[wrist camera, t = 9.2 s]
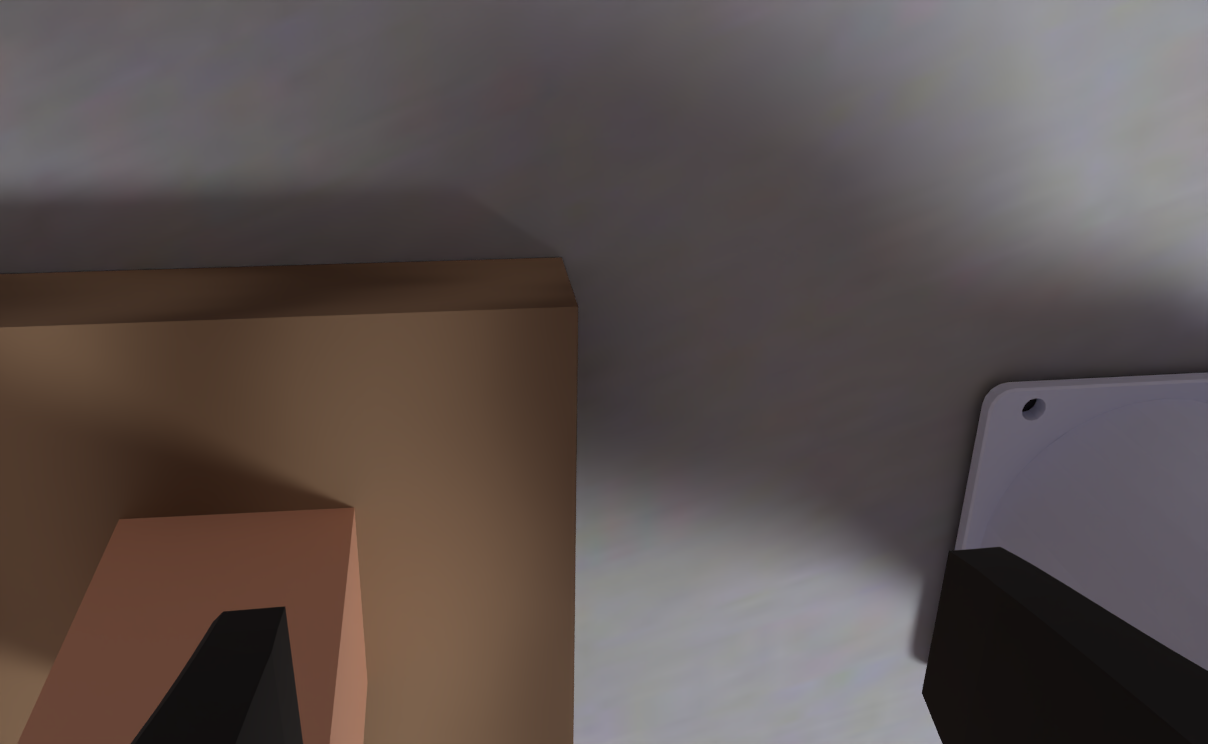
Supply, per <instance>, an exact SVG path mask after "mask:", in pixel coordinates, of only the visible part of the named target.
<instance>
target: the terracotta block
mask: <svg viewBox="0 0 1208 744" xmlns="http://www.w3.org/2000/svg"><path fill="white" fill-rule="evenodd" d="M283 606H285V608H286V616H287V624H288V631H289V639H290V647H291V654H292V662H293V670H294V677H295V685H296V693H297V700H298V708H299V716H300V723H301V731H302V739H303V744H363V742H364V727H365V712H366V698H367V683H368V682H367V669H366V655H365V642H364V628H363V615H362V602H361V588H360V575H359V562H358V548H357V535H356V522H355V508H336V509H316V510H296V511H275V512H255V513H235V514H215V515H195V516H175V517H154V518H134V519H119V521H118V523H117V525H116V527H115V529H114V532H113V534H112V536H111V538H110V540H109V543H108V545H107V547H106V549H105V551H104V554H103V556H102V558H101V560H100V562H99V565H98V567H97V569H96V571H95V573H94V576H93V578H92V580H91V582H90V584H89V587H88V589H87V591H86V593H85V595H84V598H83V600H82V602H81V604H80V607H79V609H78V611H77V613H76V615H75V618H74V620H73V622H72V624H71V626H70V629H69V631H68V633H67V635H66V637H65V640H64V642H63V644H62V646H61V648H60V651H59V653H58V655H57V657H56V659H55V662H54V664H53V666H52V668H51V670H50V673H49V675H48V677H47V679H46V681H45V684H44V686H43V688H42V690H41V692H40V695H39V697H38V699H37V701H36V704H35V706H34V708H33V710H32V712H31V715H30V717H29V719H28V721H27V723H26V726H25V728H24V730H23V732H22V734H21V737H20V739H19V741H18V743H17V744H131V742H132V741H133V739H134V738H135V737H136V735H137V734H138V733H139V731H140V730H141V729H142V727H143V726H144V724H145V723H146V722H147V720H148V719H149V718H150V716H151V715H152V714H153V712H154V711H155V709H156V708H157V707H158V705H159V704H160V702H161V701H162V699H163V698H164V696H165V695H166V693H167V692H168V690H169V689H170V688H171V686H172V685H173V683H174V682H175V680H176V679H177V677H178V676H179V674H180V673H181V671H182V670H183V668H184V667H185V665H186V664H187V662H188V661H189V659H190V657H191V656H192V654H193V653H194V651H195V650H196V648H197V646H198V645H199V643H200V642H201V640H202V639H203V637H204V635H205V634H206V632H207V630H208V629H209V627H210V626H211V624H212V622H213V621H214V620H215V619H216V618H217V617H218V616H219V615H220V614H221V613H222V612H223V611H235V610H247V609H259V608H271V607H283Z"/></svg>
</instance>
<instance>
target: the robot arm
mask: <svg viewBox="0 0 1208 744" xmlns="http://www.w3.org/2000/svg"><path fill="white" fill-rule="evenodd" d="M1035 398H1036V399H1037V401H1036V403H1035V405H1034V406H1033V407H1032V408H1031V409H1030V410H1028V411H1025V412H1022V410H1023V407H1024V405H1025V404H1026V403H1027V402H1028V401H1030V400H1032V399H1035ZM922 694H923V697H924V699H925V702H926V704H927V707H928V709H929V712H930V714H931V717H932V719H933V721H934V724H935V726H936V729H937V731H938V734H939V736H940V739H941V741H942V743H943V744H1208V372H1207V373H1186V374H1166V375H1145V376H1125V377H1104V378H1084V379H1063V380H1043V381H1022V382H1007V383H1003V384H999V385H997V386H996V387H994V388H993V389H991V390H990V391H989V393H988V394H987V395H986V396H985V398H984V401H983V403H982V408H981V413H980V418H979V424H978V429H977V434H976V440H975V445H974V450H973V455H972V461H971V466H970V471H969V476H968V482H967V487H966V492H965V498H964V503H963V508H962V513H961V519H960V524H959V529H958V535H957V540H956V545H955V550H954V551H949V555H948V560H947V565H946V570H945V575H944V581H943V586H942V591H941V596H940V601H939V606H938V612H937V617H936V622H935V627H934V632H933V638H932V643H931V648H930V653H929V658H928V664H927V669H926V674H925V679H924V684H923V689H922ZM131 744H303V739H302V731H301V723H300V716H299V708H298V700H297V693H296V685H295V677H294V670H293V662H292V654H291V647H290V639H289V631H288V624H287V616H286V608H285V606H283V607H271V608H259V609H247V610H235V611H223V612H222V613H221V614H220V615H219V616H218V617H217V618H216V619H215V620H214V621H213V622H212V624H211V626H210V627H209V629H208V630H207V632H206V634H205V635H204V637H203V639H202V640H201V642H200V643H199V645H198V646H197V648H196V650H195V651H194V653H193V654H192V656H191V657H190V659H189V661H188V662H187V664H186V665H185V667H184V668H183V670H182V671H181V673H180V674H179V676H178V677H177V679H176V680H175V682H174V683H173V685H172V686H171V688H170V689H169V690H168V692H167V693H166V695H165V696H164V698H163V699H162V701H161V702H160V704H159V705H158V707H157V708H156V709H155V711H154V712H153V714H152V715H151V716H150V718H149V719H148V720H147V722H146V723H145V724H144V726H143V727H142V729H141V730H140V731H139V733H138V734H137V735H136V737H135V738H134V739H133V741H132V742H131Z"/></svg>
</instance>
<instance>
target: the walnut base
mask: <svg viewBox="0 0 1208 744" xmlns="http://www.w3.org/2000/svg"><path fill="white" fill-rule="evenodd" d="M577 366H578V305H577V302H576V299H575V296H574V293H573V290H572V287H571V284H570V281H569V278H568V275H567V272H566V269H565V266H564V263H563V260H562V257H556V258H523V259H489V260H456V261H422V262H389V263H355V264H322V265H288V266H255V267H221V268H188V269H154V270H121V271H87V272H54V273H20V274H0V744H17V743H18V741H19V739H20V737H21V734H22V732H23V730H24V728H25V726H26V723H27V721H28V719H29V717H30V715H31V712H32V710H33V708H34V706H35V704H36V701H37V699H38V697H39V695H40V692H41V690H42V688H43V686H44V684H45V681H46V679H47V677H48V675H49V673H50V670H51V668H52V666H53V664H54V662H55V659H56V657H57V655H58V653H59V651H60V648H61V646H62V644H63V642H64V640H65V637H66V635H67V633H68V631H69V629H70V626H71V624H72V622H73V620H74V618H75V615H76V613H77V611H78V609H79V607H80V604H81V602H82V600H83V598H84V595H85V593H86V591H87V589H88V587H89V584H90V582H91V580H92V578H93V576H94V573H95V571H96V569H97V567H98V565H99V562H100V560H101V558H102V556H103V554H104V551H105V549H106V547H107V545H108V543H109V540H110V538H111V536H112V534H113V532H114V529H115V527H116V525H117V523H118V521H119V519H134V518H154V517H175V516H195V515H215V514H235V513H255V512H275V511H296V510H316V509H336V508H355V522H356V535H357V548H358V562H359V575H360V588H361V602H362V615H363V628H364V642H365V655H366V669H367V682H368V683H367V698H366V712H365V727H364V742H363V744H573V719H574V631H575V543H576V454H577Z"/></svg>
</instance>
